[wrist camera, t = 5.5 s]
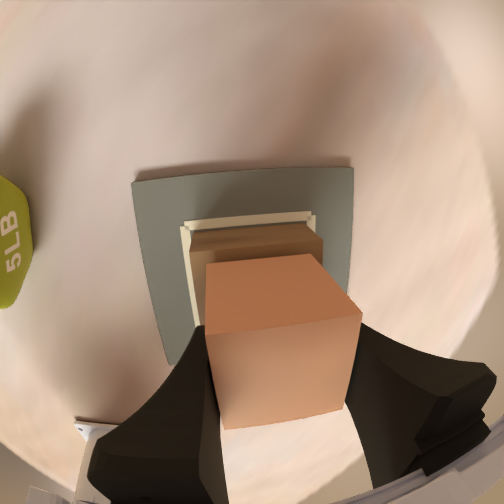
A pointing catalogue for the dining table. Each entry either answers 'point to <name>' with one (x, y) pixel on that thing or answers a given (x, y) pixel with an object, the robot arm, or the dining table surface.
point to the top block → (278, 339)
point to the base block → (247, 249)
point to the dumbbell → (13, 241)
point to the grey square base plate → (231, 217)
